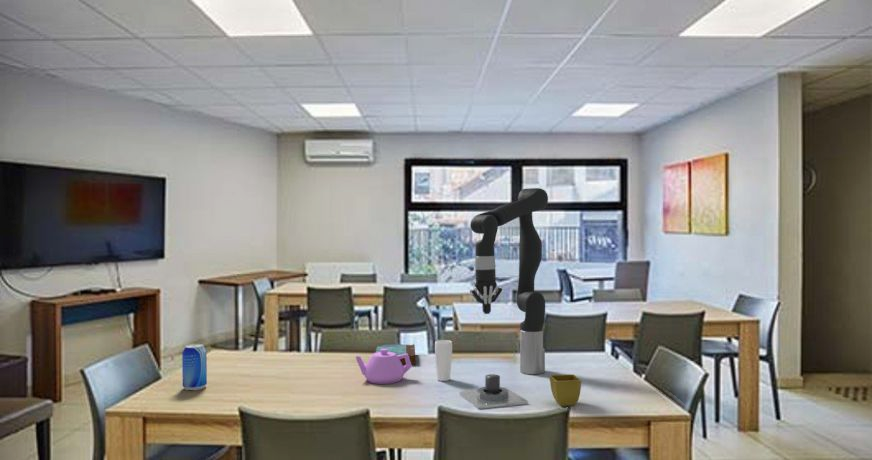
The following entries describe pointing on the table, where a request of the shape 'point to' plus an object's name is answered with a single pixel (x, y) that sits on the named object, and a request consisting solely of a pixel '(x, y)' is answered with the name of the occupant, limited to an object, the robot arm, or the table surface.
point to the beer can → (194, 367)
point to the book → (400, 351)
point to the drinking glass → (443, 359)
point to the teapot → (384, 367)
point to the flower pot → (565, 389)
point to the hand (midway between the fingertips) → (486, 313)
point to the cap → (492, 383)
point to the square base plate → (492, 398)
